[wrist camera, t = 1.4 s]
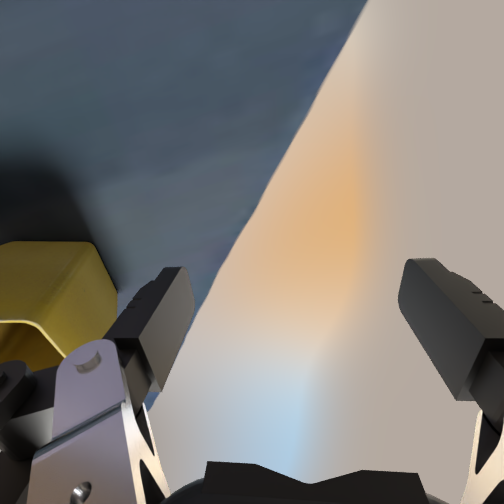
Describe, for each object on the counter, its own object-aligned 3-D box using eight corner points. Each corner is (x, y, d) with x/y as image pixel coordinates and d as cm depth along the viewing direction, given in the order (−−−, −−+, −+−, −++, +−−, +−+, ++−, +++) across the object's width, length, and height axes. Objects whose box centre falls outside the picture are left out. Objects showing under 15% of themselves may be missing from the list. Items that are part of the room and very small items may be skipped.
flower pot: (141, 306, 50) (103, 400, 37) (41, 306, 49) (-32, 401, 36) (108, 224, 37) (33, 320, 24) (-25, 222, 37) (-171, 320, 24)
